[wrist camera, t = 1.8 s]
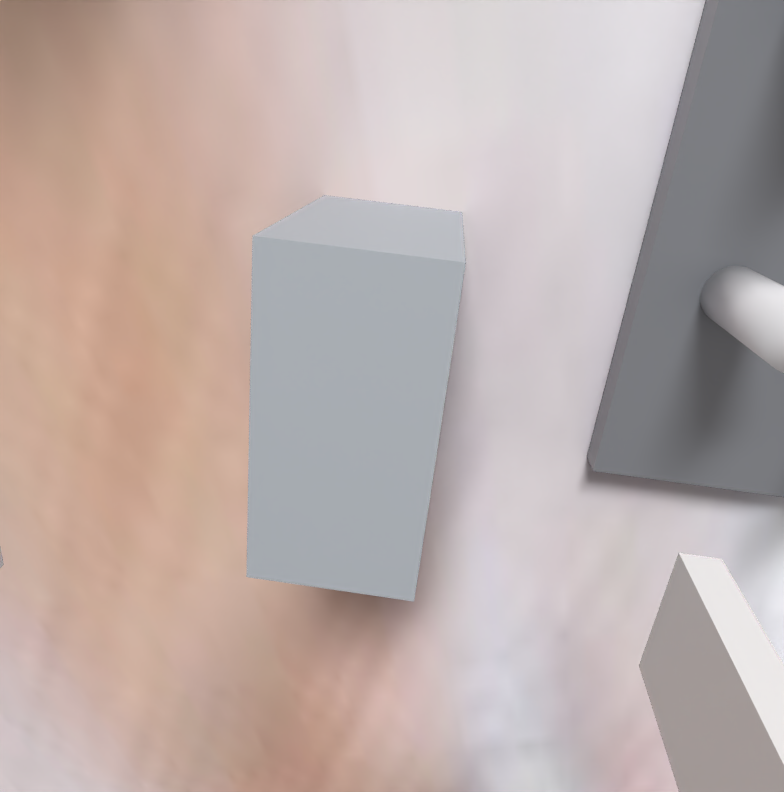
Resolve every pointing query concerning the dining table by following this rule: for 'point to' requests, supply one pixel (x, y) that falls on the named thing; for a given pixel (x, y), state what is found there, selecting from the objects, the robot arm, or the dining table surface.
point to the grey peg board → (710, 277)
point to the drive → (349, 390)
